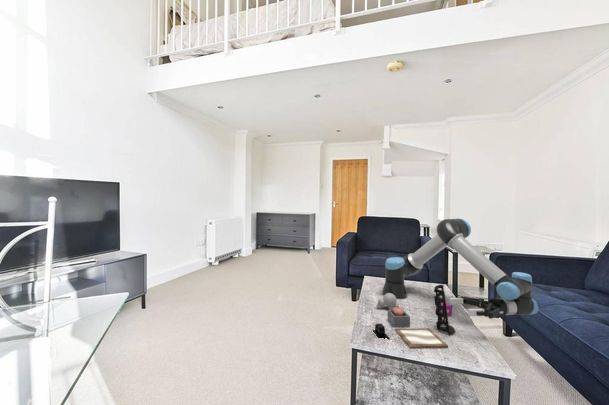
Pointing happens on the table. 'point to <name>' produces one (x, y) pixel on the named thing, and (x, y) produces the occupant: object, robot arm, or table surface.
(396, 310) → the button
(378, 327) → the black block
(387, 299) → the round bodied animal figurine
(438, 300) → the holder
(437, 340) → the board
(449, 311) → the puzzle toy
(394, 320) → the button housing
